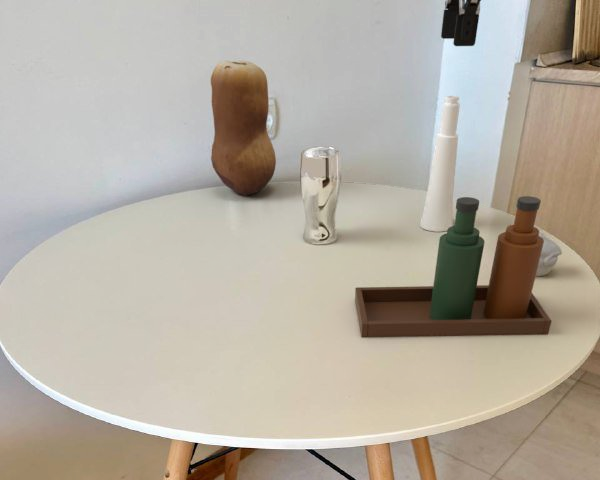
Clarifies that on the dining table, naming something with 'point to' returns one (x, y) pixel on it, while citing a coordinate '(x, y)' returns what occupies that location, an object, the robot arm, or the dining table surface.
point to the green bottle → (458, 265)
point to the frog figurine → (547, 256)
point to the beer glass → (320, 192)
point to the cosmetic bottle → (442, 171)
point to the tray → (417, 322)
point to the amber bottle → (515, 264)
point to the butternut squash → (241, 127)
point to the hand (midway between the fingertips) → (457, 41)
